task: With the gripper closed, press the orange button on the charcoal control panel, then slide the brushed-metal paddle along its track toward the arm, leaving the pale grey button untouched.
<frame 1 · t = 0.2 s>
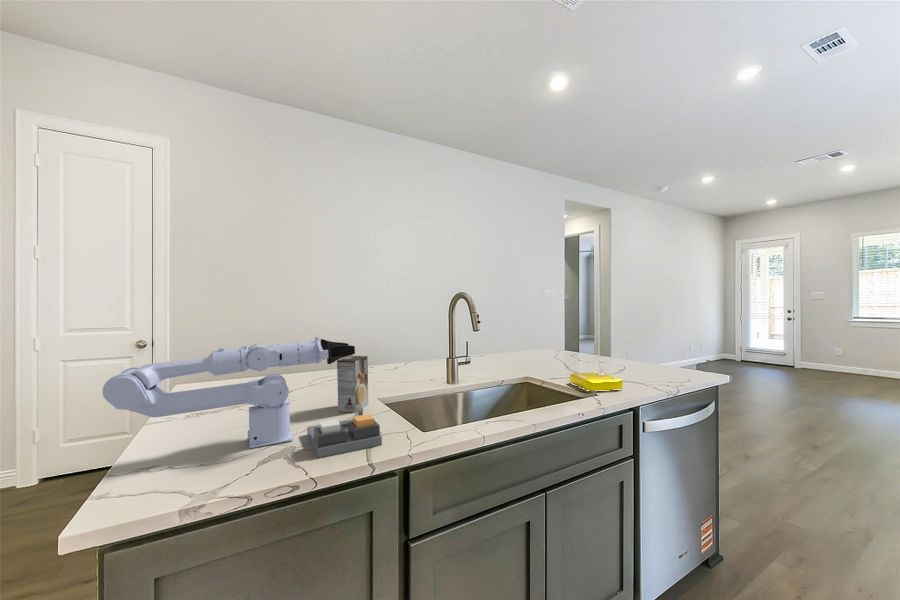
hand: (351, 348, 102), 21 cm above the worktop, tool horizontal, fingers open, 7 cm apart
control panel: (343, 439, 93), on the worktop
coffee box: (353, 408, 119), on the worktop
paddle: (358, 414, 99), point 4 cm above the worktop, slide at 0.0 cm
grey button: (329, 427, 87), point 5 cm above the worktop, slide at 0.0 cm
orange button: (363, 421, 91), point 5 cm above the worktop, slide at 0.0 cm
element tile: (595, 388, 145), on the worktop
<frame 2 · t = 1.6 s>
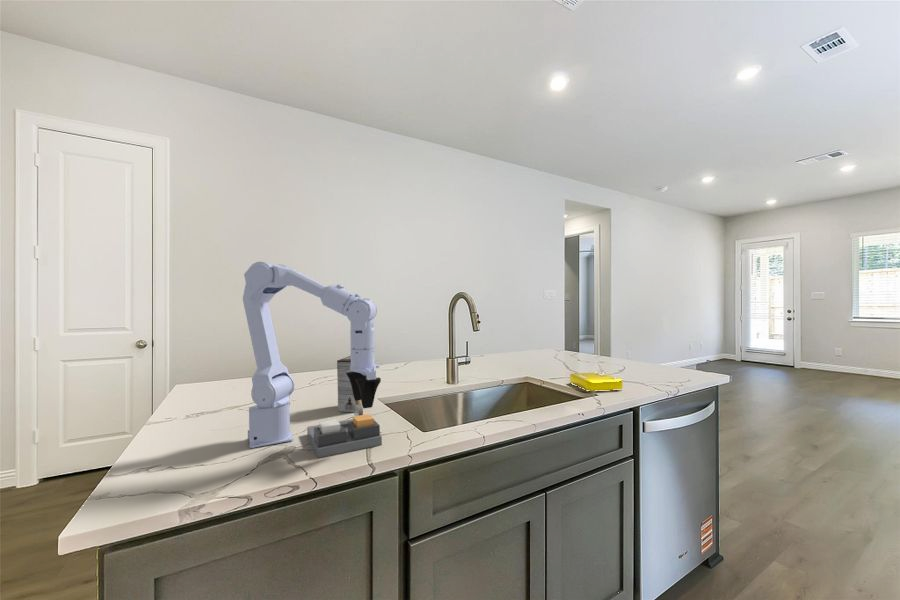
hand: (363, 403, 91), 9 cm above the worktop, tool pointing down, fingers open, 7 cm apart
nothing on the worktop moved.
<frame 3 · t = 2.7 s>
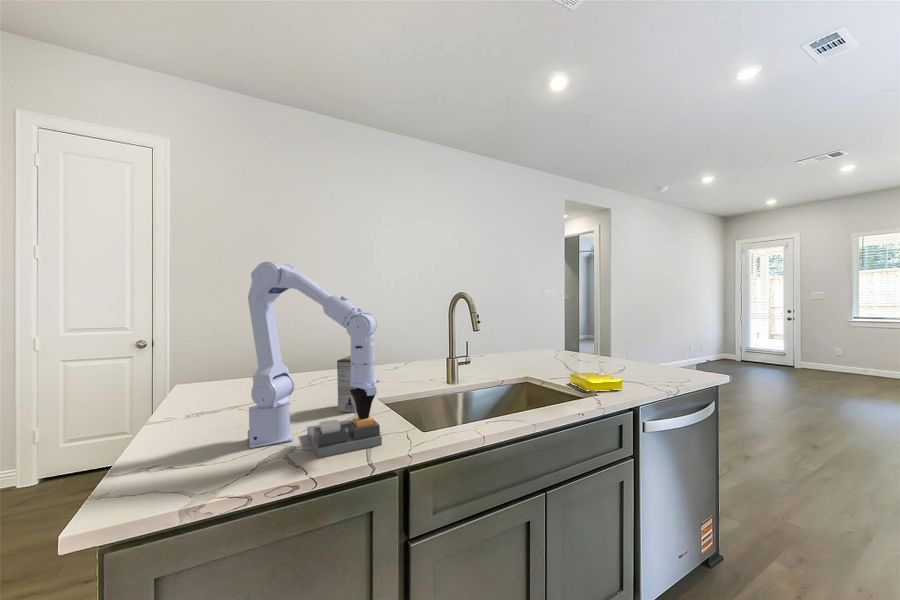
hand: (363, 418, 91), 6 cm above the worktop, tool pointing down, fingers closed, pressing on orange button
orange button: (363, 422, 91), point 5 cm above the worktop, slide at 0.1 cm, touching gripper
everything else where it was.
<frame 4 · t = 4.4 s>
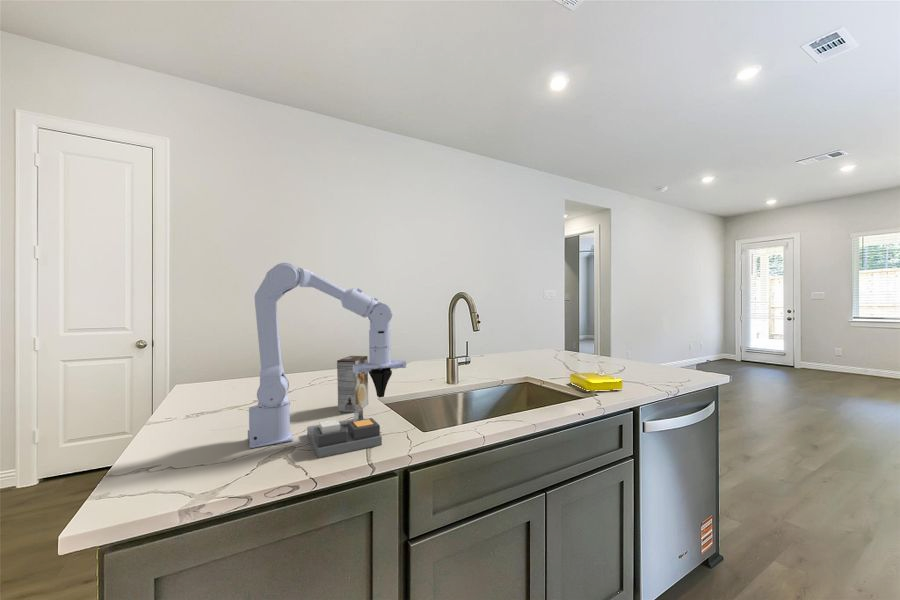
hand: (380, 396, 101), 8 cm above the worktop, tool pointing down, fingers closed
orange button: (363, 426, 91), point 4 cm above the worktop, slide at 1.3 cm
everything else where it was.
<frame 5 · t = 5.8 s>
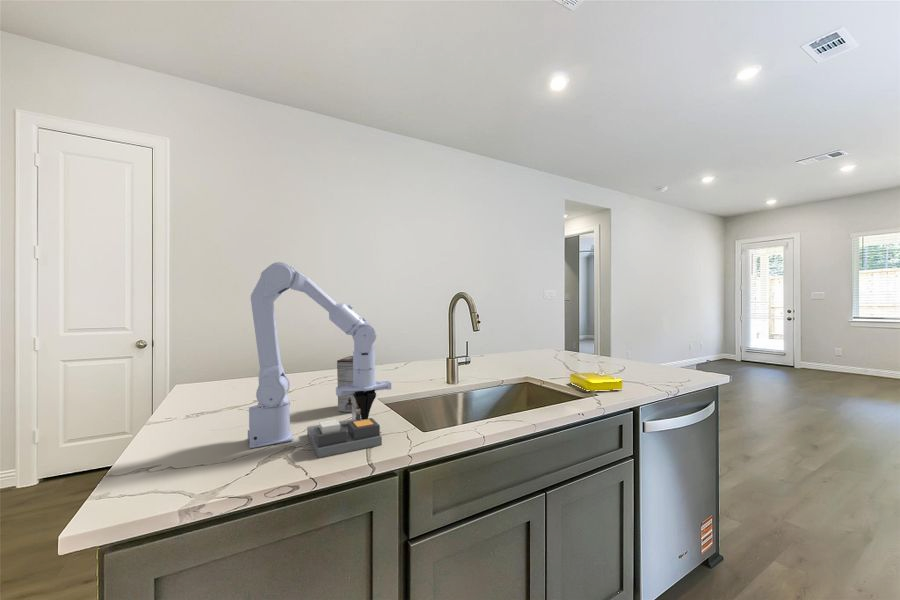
hand: (364, 419, 99), 3 cm above the worktop, tool pointing down, fingers closed
paddle: (356, 414, 98), point 4 cm above the worktop, slide at 0.7 cm, touching gripper
everything else where it was.
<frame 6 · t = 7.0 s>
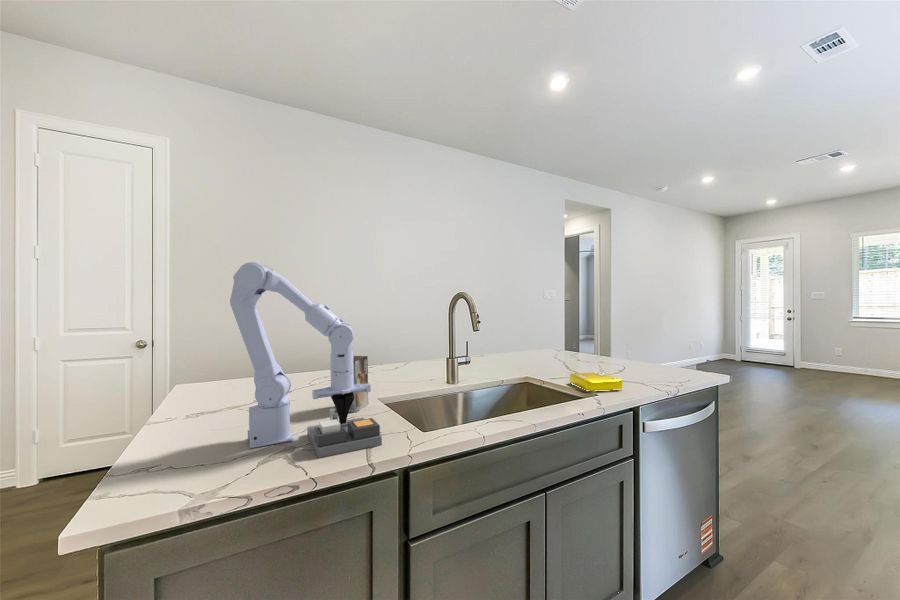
hand: (342, 422, 97), 3 cm above the worktop, tool pointing down, fingers closed
paddle: (333, 418, 95), point 4 cm above the worktop, slide at 6.4 cm, touching gripper
everything else where it was.
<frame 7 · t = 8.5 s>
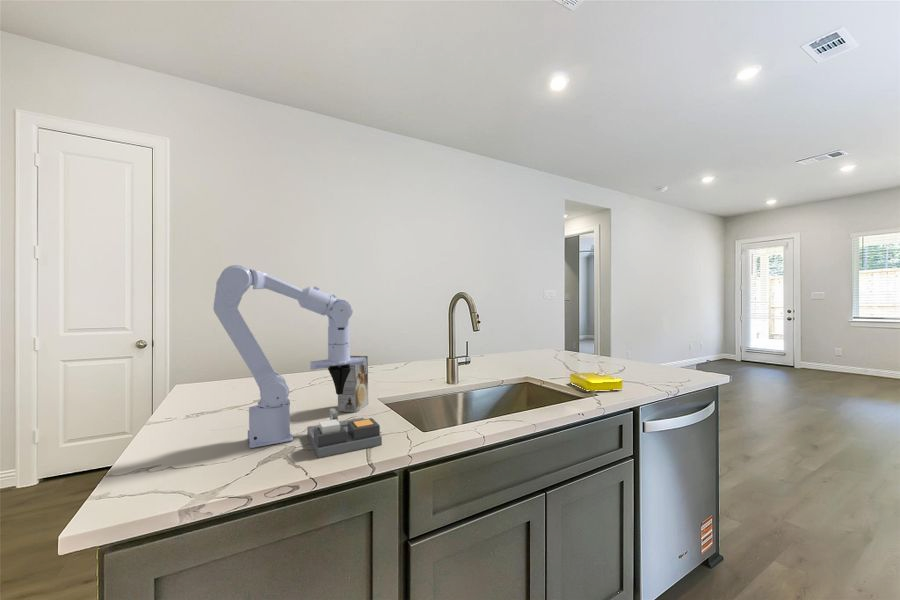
hand: (339, 393, 101), 9 cm above the worktop, tool pointing down, fingers closed
paddle: (333, 418, 95), point 4 cm above the worktop, slide at 6.4 cm
everything else where it was.
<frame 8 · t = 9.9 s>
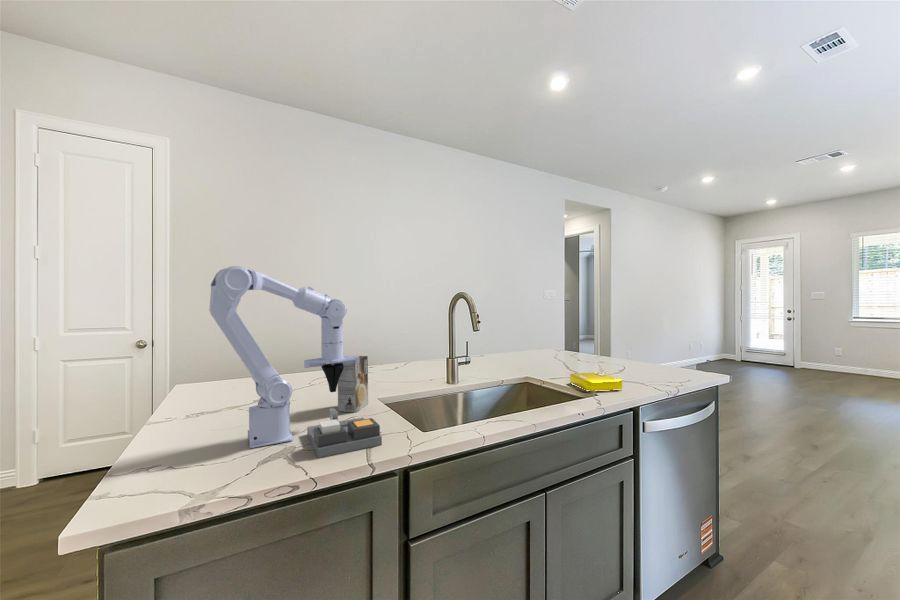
hand: (332, 391, 103), 9 cm above the worktop, tool pointing down, fingers closed
nothing on the worktop moved.
at the end: orange button slide at 1.3 cm; paddle slide at 6.4 cm; grey button slide at 0.0 cm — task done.
